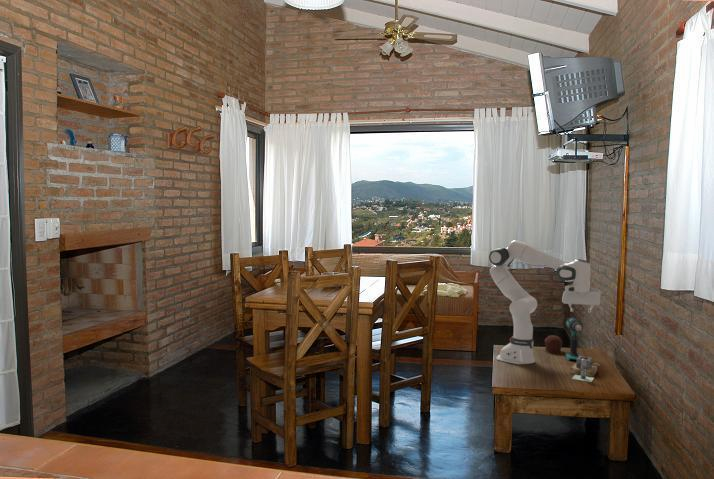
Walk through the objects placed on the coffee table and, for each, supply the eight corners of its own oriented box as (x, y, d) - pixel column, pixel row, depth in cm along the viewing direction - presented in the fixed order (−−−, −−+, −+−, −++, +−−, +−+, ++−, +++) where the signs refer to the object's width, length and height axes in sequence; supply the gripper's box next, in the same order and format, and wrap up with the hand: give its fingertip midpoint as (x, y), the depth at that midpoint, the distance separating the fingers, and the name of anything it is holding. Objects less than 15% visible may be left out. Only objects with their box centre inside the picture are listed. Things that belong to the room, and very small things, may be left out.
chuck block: (570, 373, 318) (570, 359, 317) (575, 367, 328) (575, 354, 327) (597, 377, 310) (597, 363, 310) (600, 371, 320) (601, 358, 320)
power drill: (586, 366, 332) (587, 324, 330) (570, 365, 333) (571, 323, 332) (578, 354, 357) (579, 315, 355) (563, 353, 359) (564, 314, 357)
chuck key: (579, 375, 312) (580, 357, 311) (584, 376, 311) (585, 357, 310) (581, 380, 304) (582, 360, 303) (587, 380, 304) (587, 361, 303)
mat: (571, 379, 307) (571, 378, 307) (574, 375, 314) (574, 374, 314) (591, 382, 302) (591, 381, 302) (594, 378, 308) (594, 377, 308)
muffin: (563, 354, 359) (563, 338, 358) (545, 352, 361) (545, 337, 360) (561, 349, 370) (561, 334, 369) (543, 348, 373) (543, 333, 372)
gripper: (600, 287, 320) (599, 311, 321) (562, 286, 325) (561, 310, 326) (602, 289, 314) (601, 314, 315) (563, 288, 319) (562, 312, 320)
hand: (580, 312), depth 321 cm, fingers open, 8 cm apart
